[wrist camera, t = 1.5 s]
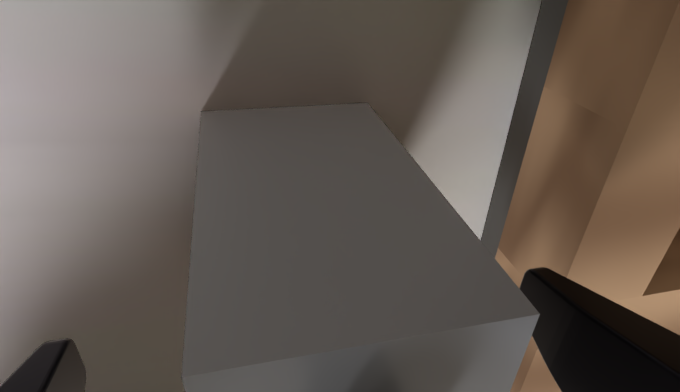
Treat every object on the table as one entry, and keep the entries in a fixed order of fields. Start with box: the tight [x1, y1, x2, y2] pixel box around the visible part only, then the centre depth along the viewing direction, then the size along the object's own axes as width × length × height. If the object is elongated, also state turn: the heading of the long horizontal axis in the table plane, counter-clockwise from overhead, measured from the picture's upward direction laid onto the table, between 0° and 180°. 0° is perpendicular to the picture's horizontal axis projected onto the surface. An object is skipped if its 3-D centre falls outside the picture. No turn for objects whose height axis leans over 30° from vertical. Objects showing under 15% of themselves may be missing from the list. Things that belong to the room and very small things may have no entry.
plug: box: [181, 103, 540, 392], centre depth 9 cm, size 4×4×10 cm
